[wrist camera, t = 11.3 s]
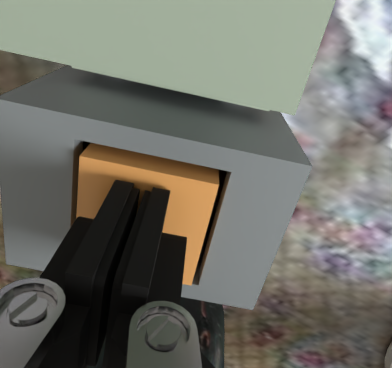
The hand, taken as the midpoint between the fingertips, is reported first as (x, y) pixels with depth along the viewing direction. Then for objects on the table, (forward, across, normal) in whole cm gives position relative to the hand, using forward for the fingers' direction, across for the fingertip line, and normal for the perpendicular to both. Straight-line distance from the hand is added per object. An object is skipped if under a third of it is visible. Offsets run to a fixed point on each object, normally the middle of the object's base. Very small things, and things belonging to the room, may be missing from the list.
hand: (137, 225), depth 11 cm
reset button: (+5, 0, 0) cm, 5 cm away
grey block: (+7, 0, 0) cm, 7 cm away
